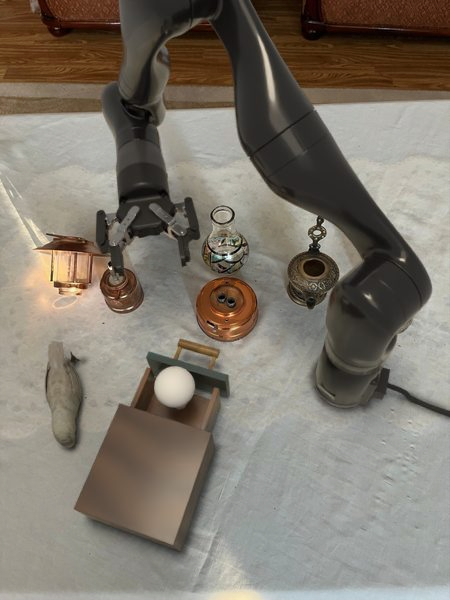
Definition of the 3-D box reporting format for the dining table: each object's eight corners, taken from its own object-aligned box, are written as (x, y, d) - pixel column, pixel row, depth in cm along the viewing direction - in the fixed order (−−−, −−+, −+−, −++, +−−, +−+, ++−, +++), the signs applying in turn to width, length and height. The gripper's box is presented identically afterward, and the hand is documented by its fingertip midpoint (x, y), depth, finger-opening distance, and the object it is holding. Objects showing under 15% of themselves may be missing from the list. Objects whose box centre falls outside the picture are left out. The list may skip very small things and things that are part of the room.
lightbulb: (206, 406, 85) (201, 382, 76) (176, 429, 84) (167, 408, 74) (184, 379, 88) (176, 352, 78) (154, 401, 86) (143, 376, 76)
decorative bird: (54, 452, 84) (38, 439, 78) (52, 361, 92) (37, 343, 86) (88, 445, 85) (75, 432, 78) (82, 356, 93) (70, 337, 86)
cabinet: (131, 422, 86) (119, 403, 78) (215, 449, 84) (212, 432, 75) (91, 518, 79) (73, 509, 71) (181, 551, 77) (173, 545, 68)
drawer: (166, 344, 92) (159, 324, 86) (238, 365, 90) (238, 346, 83) (121, 451, 83) (110, 437, 77) (201, 477, 81) (196, 466, 74)
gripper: (88, 168, 75) (92, 261, 67) (186, 153, 75) (202, 243, 67) (100, 202, 81) (106, 291, 73) (191, 189, 82) (206, 275, 74)
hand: (152, 268), depth 70 cm, fingers open, 8 cm apart
